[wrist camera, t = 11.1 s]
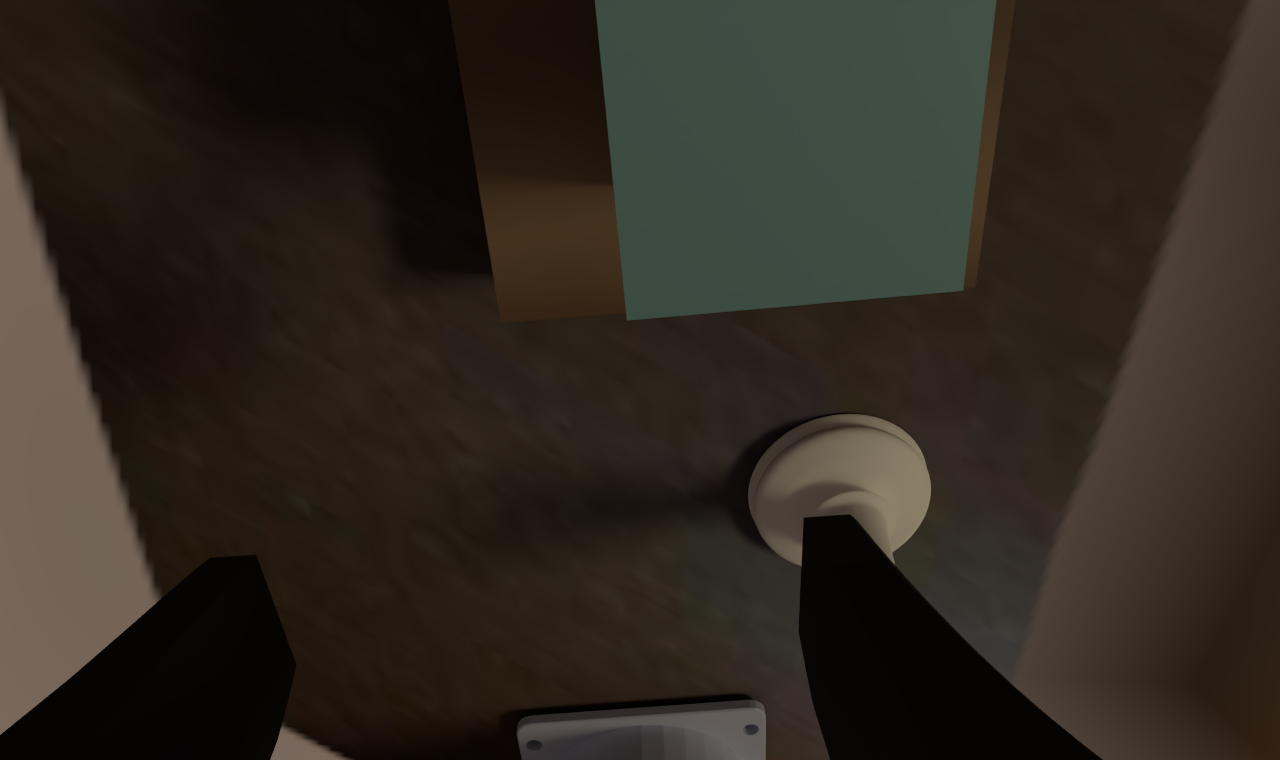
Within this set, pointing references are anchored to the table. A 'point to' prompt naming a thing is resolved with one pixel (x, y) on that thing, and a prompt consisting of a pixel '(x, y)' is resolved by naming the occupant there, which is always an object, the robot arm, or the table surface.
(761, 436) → the table surface
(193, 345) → the table surface
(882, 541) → the chess piece
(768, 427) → the table surface
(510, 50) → the walnut base
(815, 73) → the teal block
